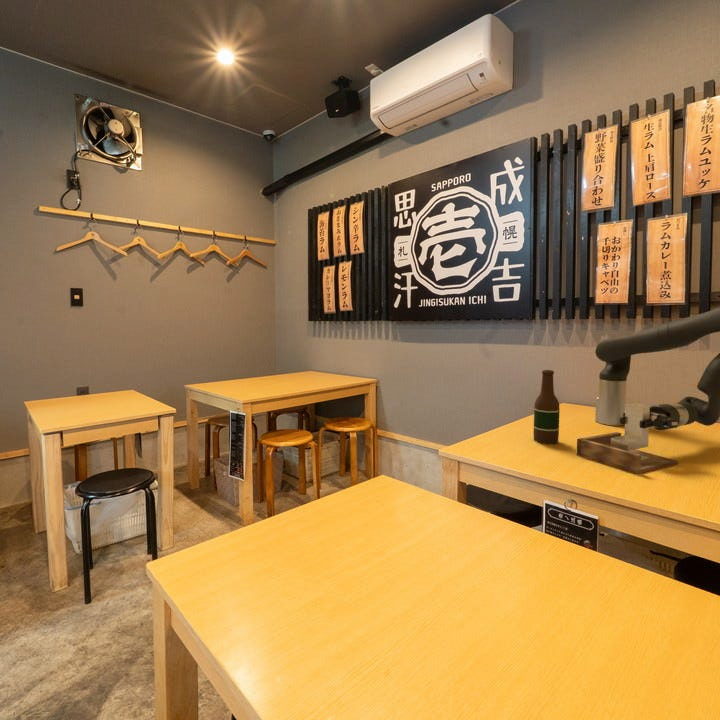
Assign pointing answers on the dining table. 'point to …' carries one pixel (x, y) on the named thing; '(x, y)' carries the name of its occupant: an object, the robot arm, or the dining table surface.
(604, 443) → the walls
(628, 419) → the bracket
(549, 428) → the beer bottle
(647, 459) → the board
